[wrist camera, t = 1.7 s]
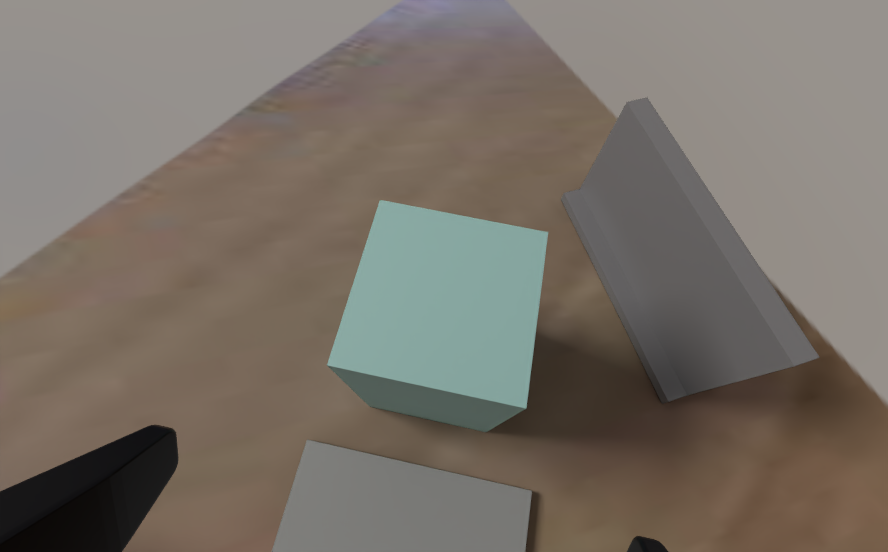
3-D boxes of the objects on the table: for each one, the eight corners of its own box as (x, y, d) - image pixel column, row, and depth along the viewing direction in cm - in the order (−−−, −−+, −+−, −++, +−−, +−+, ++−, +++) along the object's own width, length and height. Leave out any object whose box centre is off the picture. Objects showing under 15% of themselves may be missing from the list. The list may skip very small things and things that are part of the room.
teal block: (486, 432, 20) (526, 408, 11) (369, 406, 20) (327, 365, 12) (504, 316, 22) (548, 227, 14) (399, 295, 22) (381, 194, 14)
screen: (716, 384, 21) (844, 349, 14) (662, 403, 20) (768, 375, 14) (607, 187, 25) (667, 92, 19) (560, 199, 25) (606, 106, 18)
